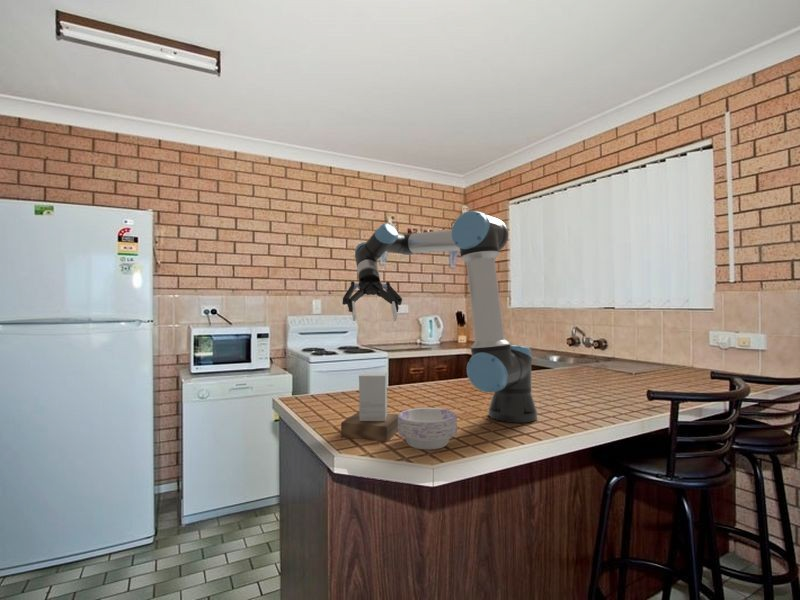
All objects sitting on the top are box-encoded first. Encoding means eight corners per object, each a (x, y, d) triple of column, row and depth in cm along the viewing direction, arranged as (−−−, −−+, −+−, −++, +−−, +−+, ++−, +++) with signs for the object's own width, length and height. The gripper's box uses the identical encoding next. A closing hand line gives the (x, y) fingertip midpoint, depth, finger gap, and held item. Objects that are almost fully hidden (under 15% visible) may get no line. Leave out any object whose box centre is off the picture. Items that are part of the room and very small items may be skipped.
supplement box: (387, 415, 123) (387, 371, 124) (385, 422, 116) (385, 375, 116) (362, 414, 124) (362, 371, 124) (358, 421, 116) (358, 375, 117)
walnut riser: (401, 428, 124) (401, 414, 124) (386, 442, 111) (386, 426, 112) (359, 424, 128) (359, 411, 128) (341, 437, 115) (341, 422, 115)
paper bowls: (391, 438, 115) (391, 408, 115) (443, 433, 119) (443, 405, 119) (407, 457, 100) (407, 423, 101) (466, 451, 105) (466, 419, 105)
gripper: (400, 283, 159) (410, 325, 144) (333, 282, 154) (336, 325, 139) (403, 268, 154) (414, 309, 139) (334, 266, 148) (337, 309, 134)
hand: (375, 318), depth 139 cm, fingers open, 13 cm apart
